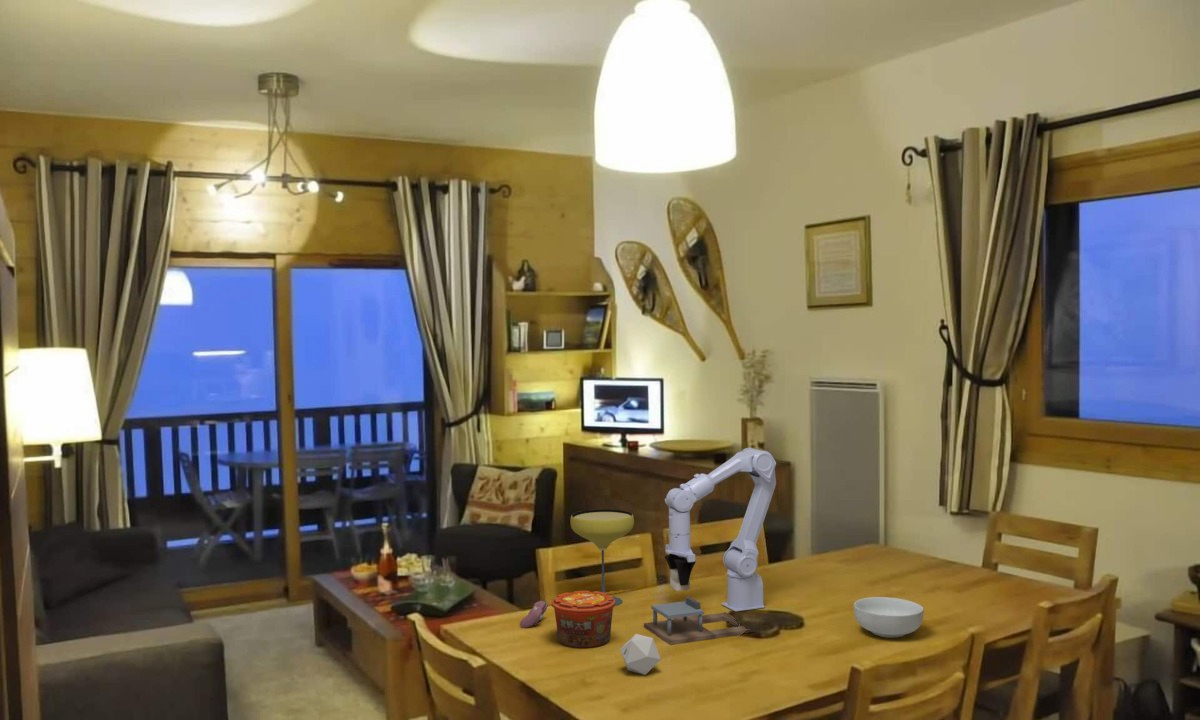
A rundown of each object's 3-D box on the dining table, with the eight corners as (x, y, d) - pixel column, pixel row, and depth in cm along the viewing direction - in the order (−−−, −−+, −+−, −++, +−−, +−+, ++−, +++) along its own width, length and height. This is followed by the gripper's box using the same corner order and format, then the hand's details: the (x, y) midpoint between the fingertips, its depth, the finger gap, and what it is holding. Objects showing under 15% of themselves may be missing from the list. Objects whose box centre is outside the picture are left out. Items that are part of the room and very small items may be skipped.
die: (627, 665, 227) (609, 639, 222) (658, 646, 227) (642, 619, 223) (638, 689, 220) (620, 662, 215) (671, 669, 220) (654, 641, 216)
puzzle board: (725, 616, 263) (725, 612, 263) (755, 632, 248) (755, 628, 248) (643, 627, 254) (643, 623, 254) (670, 644, 239) (670, 640, 239)
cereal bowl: (887, 648, 235) (886, 618, 234) (840, 630, 249) (839, 602, 249) (938, 636, 242) (938, 608, 242) (890, 619, 257) (889, 593, 257)
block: (683, 585, 268) (683, 567, 268) (690, 589, 264) (689, 571, 264) (670, 587, 267) (670, 569, 267) (676, 591, 263) (676, 572, 263)
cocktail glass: (561, 607, 274) (560, 518, 273) (586, 591, 291) (585, 507, 290) (621, 613, 267) (620, 522, 266) (644, 596, 284) (642, 510, 283)
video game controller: (533, 635, 254) (544, 611, 254) (517, 626, 255) (529, 603, 254) (542, 623, 264) (553, 601, 263) (527, 615, 265) (538, 593, 264)
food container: (594, 654, 233) (593, 610, 233) (539, 644, 242) (538, 601, 241) (628, 636, 247) (627, 594, 246) (575, 627, 255) (574, 586, 255)
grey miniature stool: (686, 619, 255) (686, 595, 255) (704, 629, 246) (703, 604, 246) (651, 624, 252) (651, 599, 252) (668, 634, 243) (667, 609, 242)
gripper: (655, 529, 271) (655, 578, 271) (678, 539, 257) (678, 591, 257) (678, 527, 273) (678, 575, 273) (702, 537, 260) (702, 588, 260)
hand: (680, 583), depth 266 cm, fingers closed on block, 4 cm apart
